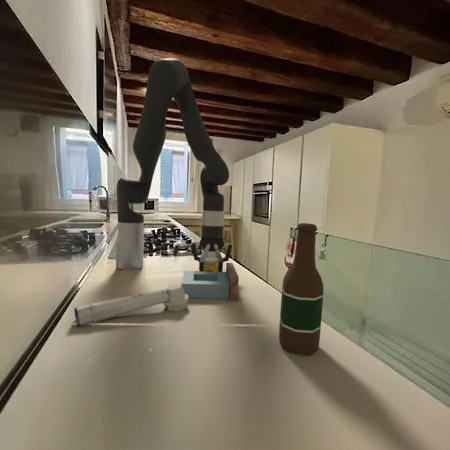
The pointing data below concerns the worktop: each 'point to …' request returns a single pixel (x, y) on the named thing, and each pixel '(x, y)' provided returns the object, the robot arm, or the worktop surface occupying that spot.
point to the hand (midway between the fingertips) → (210, 272)
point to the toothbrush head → (132, 305)
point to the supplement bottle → (211, 262)
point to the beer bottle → (302, 297)
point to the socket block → (206, 284)
